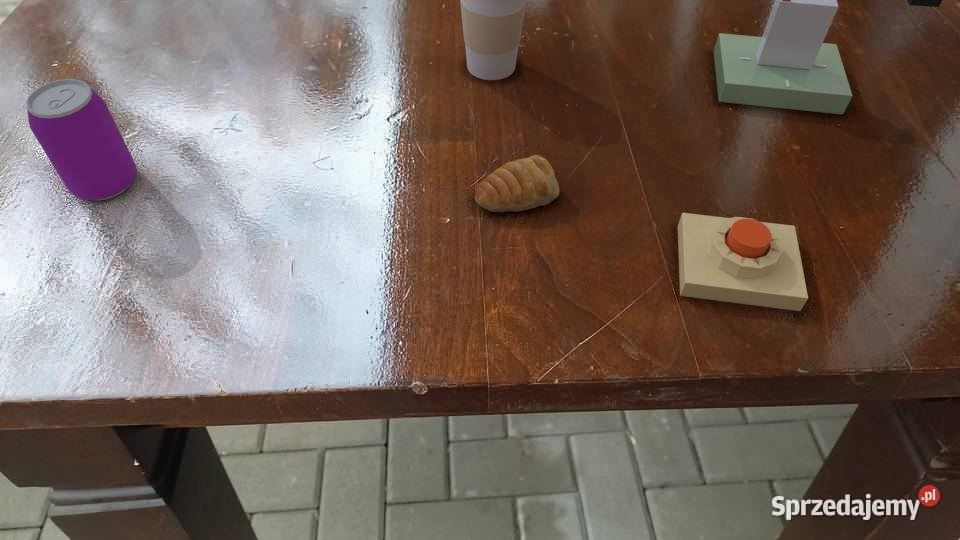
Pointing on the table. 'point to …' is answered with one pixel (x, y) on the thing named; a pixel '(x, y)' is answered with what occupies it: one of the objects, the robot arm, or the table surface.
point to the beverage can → (80, 139)
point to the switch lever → (795, 32)
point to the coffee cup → (492, 36)
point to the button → (749, 238)
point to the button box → (739, 265)
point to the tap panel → (779, 78)
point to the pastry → (518, 186)
